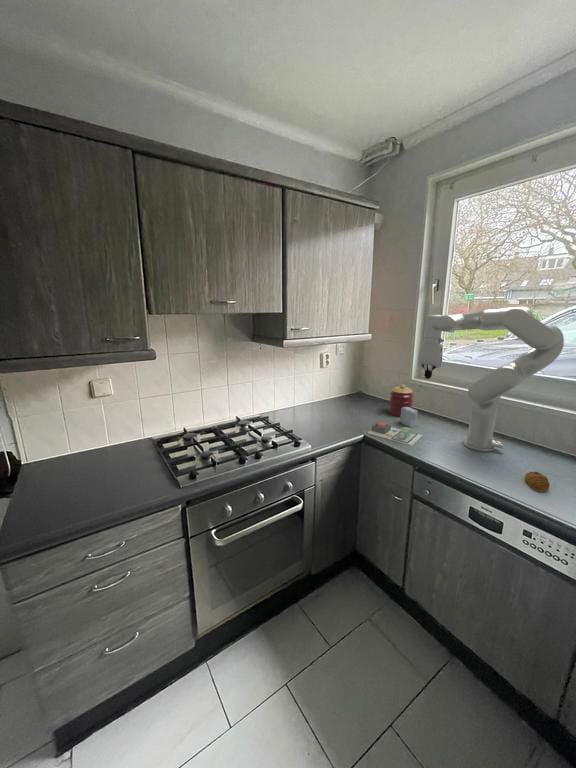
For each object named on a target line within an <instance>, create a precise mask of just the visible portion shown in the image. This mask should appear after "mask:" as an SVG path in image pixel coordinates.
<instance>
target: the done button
mask: <svg viewBox="0 0 576 768" xmlns="http://www.w3.org/2000/svg"><path fill="white" fill-rule="evenodd" d="M377 422H378V423H377ZM377 422H376V423H377V426H379V427H383V428H385V427H386V424H387V423H386V422H383V421H382V422H381V421H377Z"/></svg>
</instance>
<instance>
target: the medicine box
mask: <svg viewBox="0 0 576 768" xmlns="http://www.w3.org/2000/svg"><path fill="white" fill-rule="evenodd" d="M418 413H419V411H418V410H417V409H414V408H413V407H412V408H409V407H403V408H401V417H400V421H399V422H400V424H403V425H405V426H406V427H408V428H414V427H417V425H418Z"/></svg>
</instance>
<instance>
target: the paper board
mask: <svg viewBox="0 0 576 768" xmlns="http://www.w3.org/2000/svg"><path fill="white" fill-rule="evenodd" d="M378 422H379V421H376V422H375V423H373V424H372V425H371V430H369V431H367V433H368V434H367V435H370V436H374V437H378V438H381V439H386V440H387V441H388V440H389V441H392V442H396V443H399V444H402V445H407V446H410V447H413V445H414V444H416V442H418V441H419V440H420V439H421V438H422V437H423V435H422V434H418V433H414V432H411V435H410V436H409V437H408V438H407V439H400V438H399V437H398V434H399V431H400V430H401V429H399V428H395V427H392V424H389V423H386V427H385V428H383V427H379V426H377V423H378Z"/></svg>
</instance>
